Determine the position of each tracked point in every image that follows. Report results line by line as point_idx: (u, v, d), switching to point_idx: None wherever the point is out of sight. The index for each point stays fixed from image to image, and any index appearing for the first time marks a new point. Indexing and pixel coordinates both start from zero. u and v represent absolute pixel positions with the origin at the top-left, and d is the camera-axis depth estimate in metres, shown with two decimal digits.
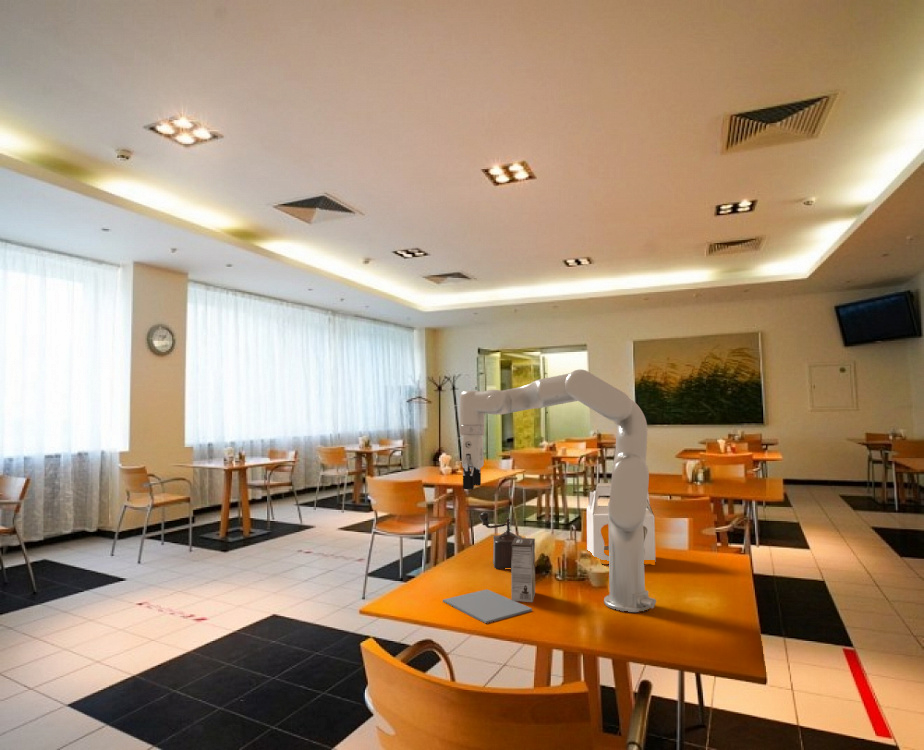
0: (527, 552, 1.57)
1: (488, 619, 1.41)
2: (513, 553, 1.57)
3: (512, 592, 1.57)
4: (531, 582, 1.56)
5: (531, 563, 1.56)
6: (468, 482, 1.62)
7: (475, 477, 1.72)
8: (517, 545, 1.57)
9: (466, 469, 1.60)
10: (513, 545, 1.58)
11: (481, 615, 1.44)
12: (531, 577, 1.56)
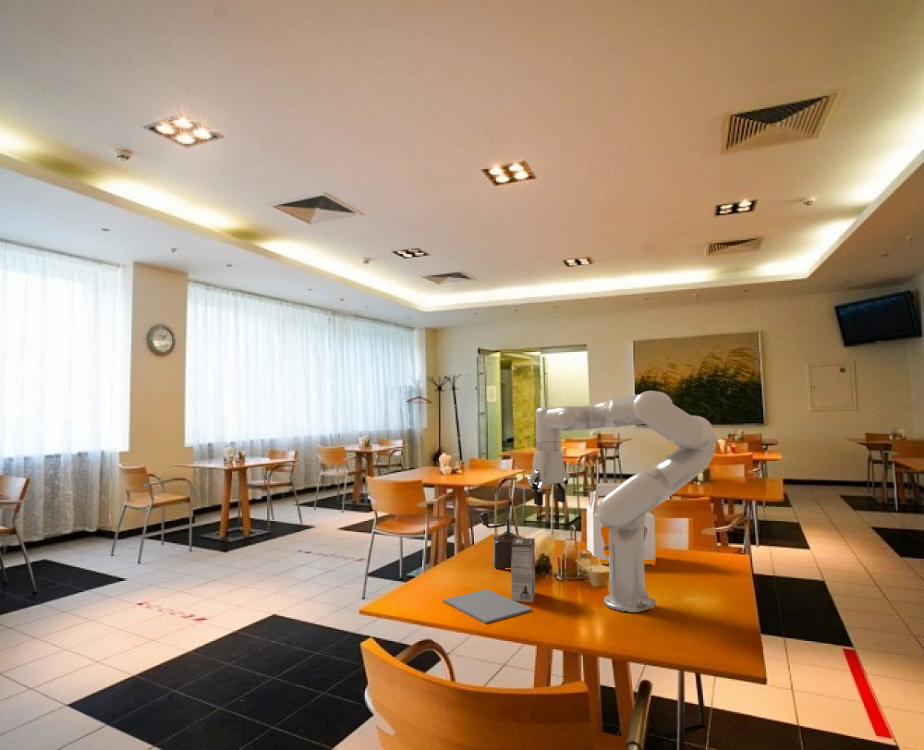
0: (527, 552, 1.57)
1: (488, 619, 1.41)
2: (513, 554, 1.57)
3: (512, 592, 1.57)
4: (531, 582, 1.56)
5: (531, 563, 1.56)
6: None
7: None
8: (517, 545, 1.57)
9: None
10: (513, 545, 1.58)
11: (481, 615, 1.44)
12: (531, 577, 1.56)
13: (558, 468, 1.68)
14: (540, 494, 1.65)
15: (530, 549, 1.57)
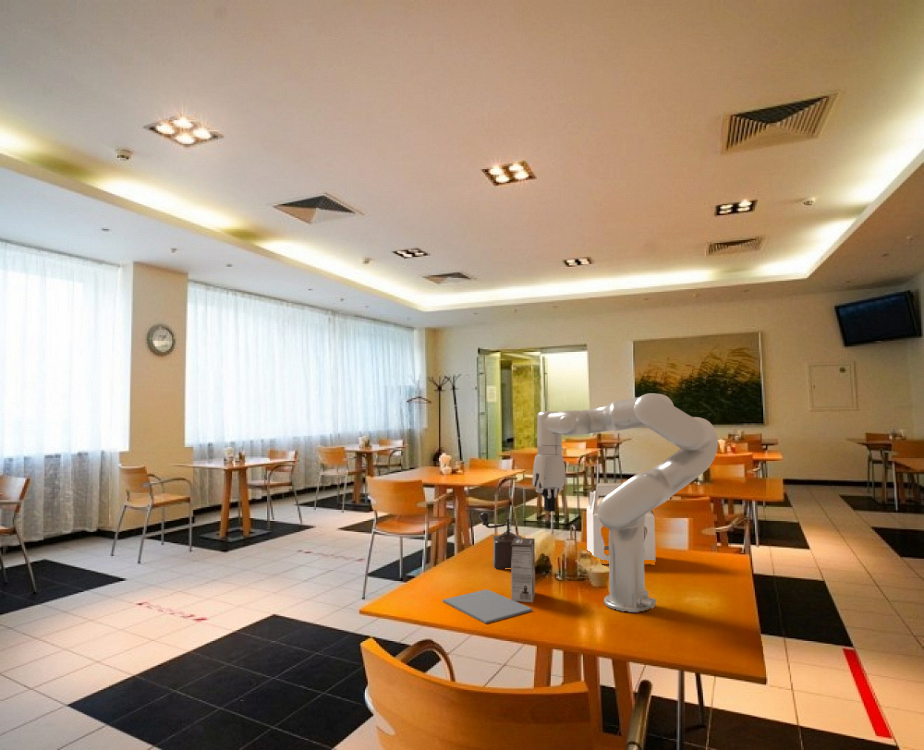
0: (527, 552, 1.57)
1: (488, 619, 1.41)
2: (513, 554, 1.57)
3: (512, 592, 1.57)
4: (531, 582, 1.56)
5: (531, 563, 1.56)
6: None
7: None
8: (517, 545, 1.57)
9: None
10: (513, 545, 1.58)
11: (481, 615, 1.44)
12: (531, 577, 1.56)
13: (559, 472, 1.68)
14: (551, 500, 1.67)
15: (530, 549, 1.57)
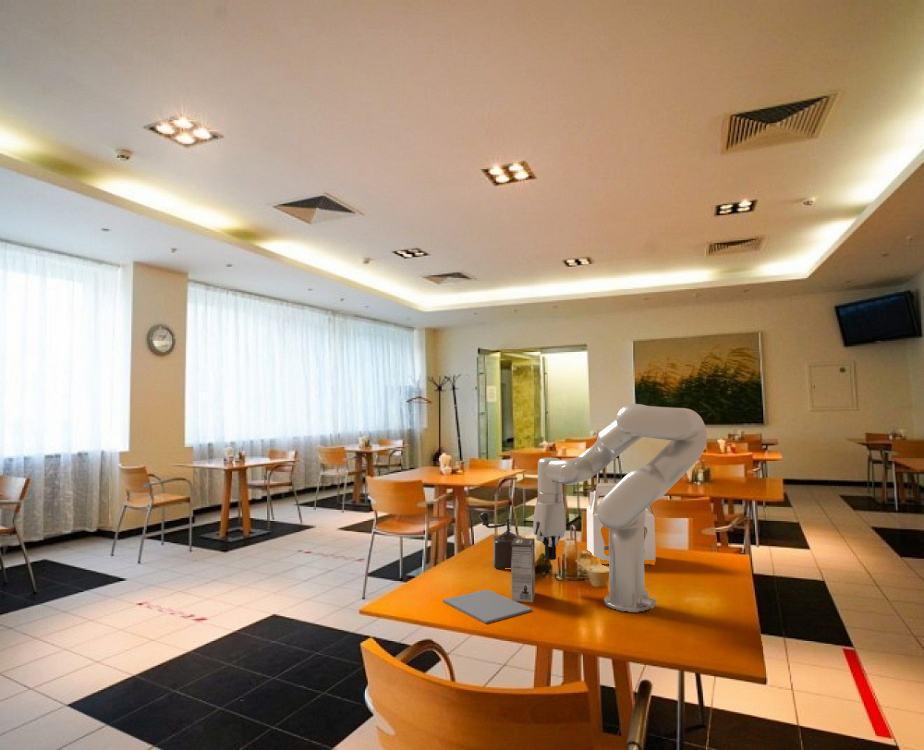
0: (527, 552, 1.57)
1: (488, 619, 1.41)
2: (513, 554, 1.57)
3: (512, 592, 1.57)
4: (531, 582, 1.56)
5: (531, 563, 1.56)
6: None
7: None
8: (517, 545, 1.57)
9: None
10: (513, 545, 1.58)
11: (481, 615, 1.44)
12: (531, 577, 1.56)
13: (559, 520, 1.67)
14: (551, 549, 1.66)
15: (530, 549, 1.57)
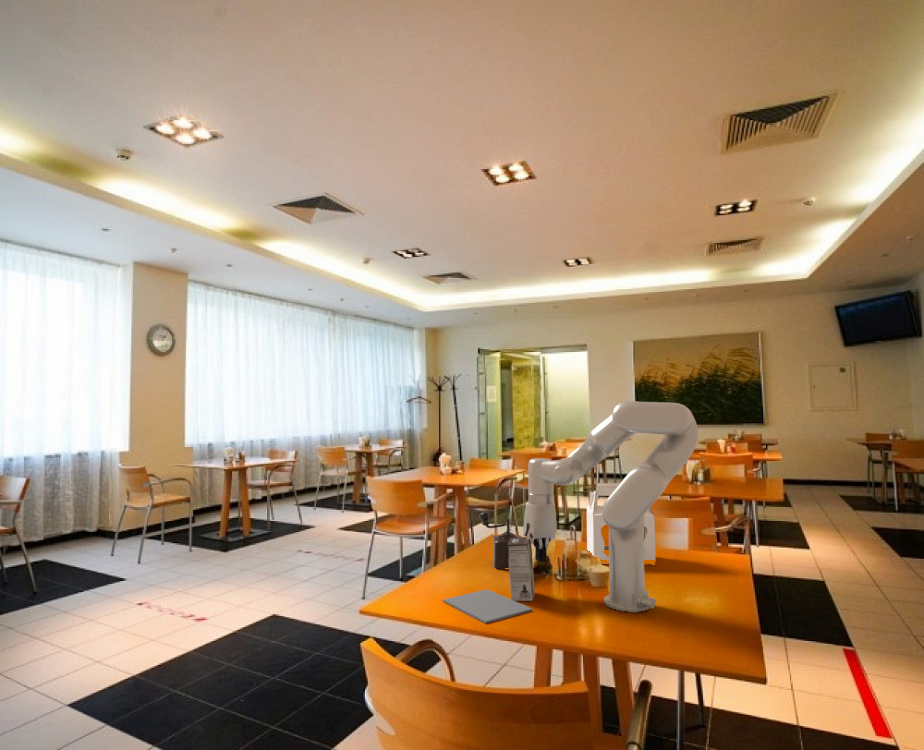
0: (523, 551, 1.57)
1: (488, 619, 1.41)
2: (510, 553, 1.58)
3: (511, 592, 1.57)
4: (530, 580, 1.56)
5: (528, 561, 1.57)
6: None
7: None
8: (513, 545, 1.58)
9: None
10: (509, 545, 1.58)
11: (481, 615, 1.44)
12: (529, 575, 1.56)
13: (550, 521, 1.65)
14: (542, 551, 1.64)
15: (526, 548, 1.57)
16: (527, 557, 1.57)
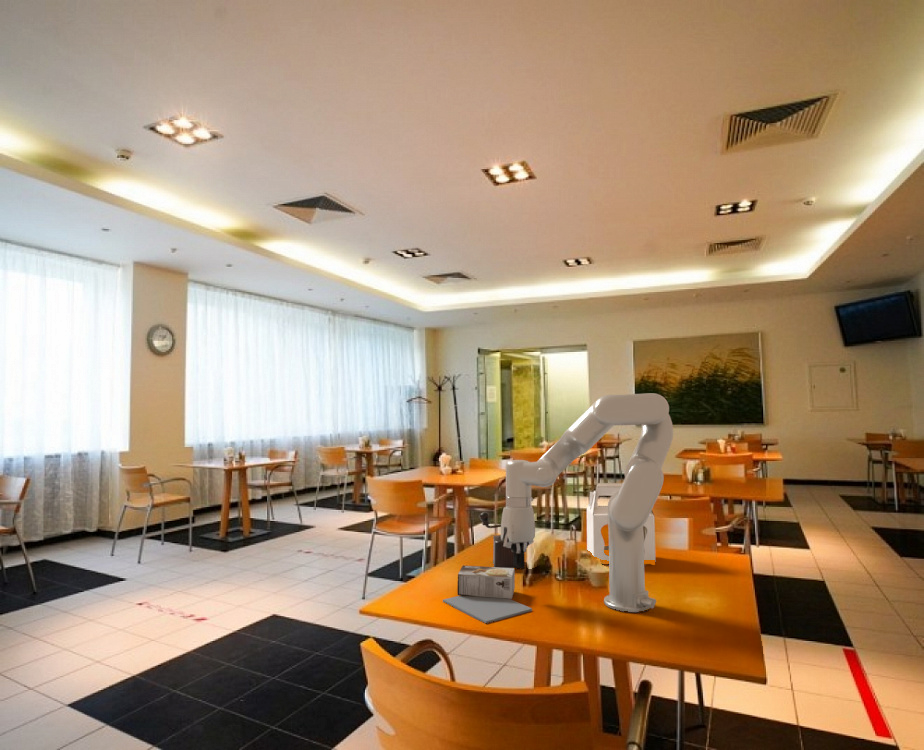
0: (464, 579, 1.59)
1: (488, 619, 1.41)
2: (466, 593, 1.59)
3: (503, 597, 1.57)
4: (492, 577, 1.58)
5: (474, 575, 1.59)
6: None
7: None
8: (458, 588, 1.60)
9: None
10: (458, 593, 1.59)
11: (481, 615, 1.44)
12: (488, 576, 1.58)
13: (528, 525, 1.60)
14: (520, 555, 1.59)
15: (461, 575, 1.60)
16: (470, 576, 1.59)
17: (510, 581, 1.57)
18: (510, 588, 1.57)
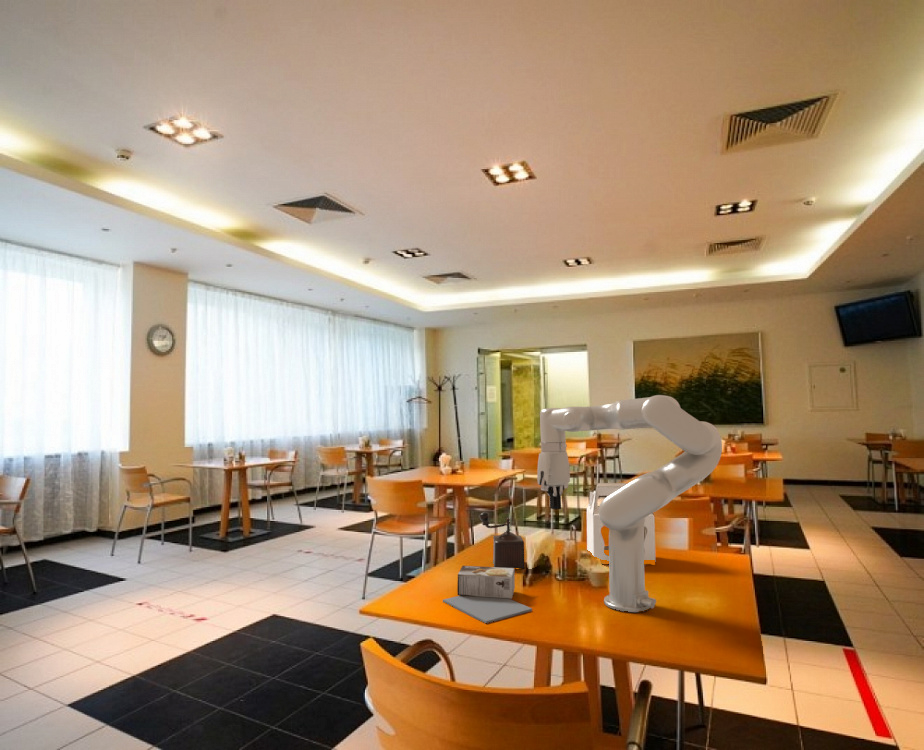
0: (464, 579, 1.59)
1: (488, 619, 1.41)
2: (466, 593, 1.59)
3: (503, 597, 1.57)
4: (492, 577, 1.58)
5: (474, 575, 1.59)
6: None
7: None
8: (458, 589, 1.60)
9: None
10: (458, 593, 1.59)
11: (481, 615, 1.44)
12: (488, 576, 1.58)
13: (563, 469, 1.67)
14: (556, 498, 1.65)
15: (461, 576, 1.60)
16: (470, 576, 1.59)
17: (510, 581, 1.57)
18: (510, 588, 1.57)
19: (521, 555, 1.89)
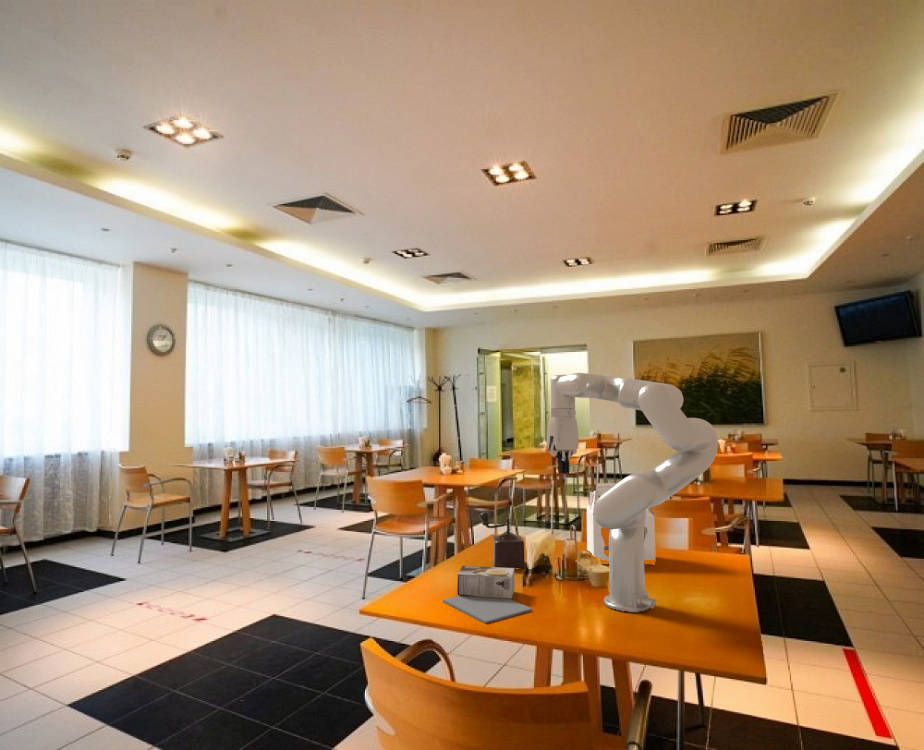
0: (464, 579, 1.59)
1: (488, 619, 1.41)
2: (466, 593, 1.59)
3: (503, 597, 1.57)
4: (492, 577, 1.58)
5: (474, 575, 1.59)
6: None
7: None
8: (458, 589, 1.60)
9: None
10: (458, 593, 1.59)
11: (481, 615, 1.44)
12: (488, 576, 1.58)
13: (572, 435, 1.70)
14: (565, 463, 1.69)
15: (461, 576, 1.60)
16: (470, 576, 1.59)
17: (510, 581, 1.57)
18: (510, 588, 1.57)
19: (521, 555, 1.89)
